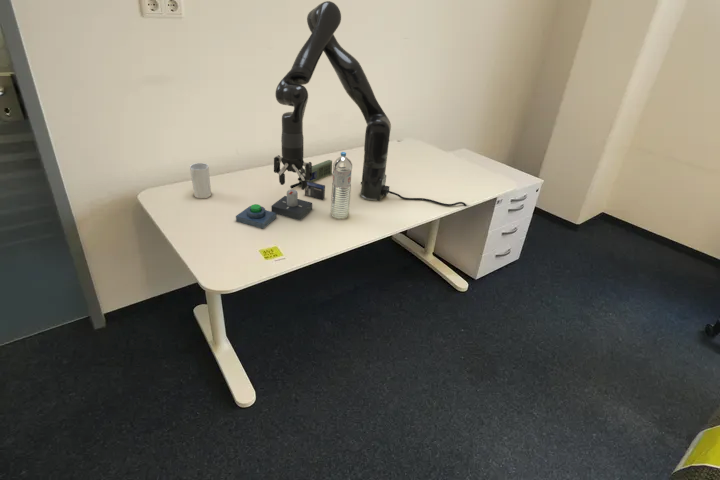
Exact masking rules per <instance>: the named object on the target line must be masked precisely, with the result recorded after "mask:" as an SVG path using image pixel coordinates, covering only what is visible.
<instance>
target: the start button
mask: <svg viewBox="0 0 720 480" xmlns="http://www.w3.org/2000/svg"><path fill="white" fill-rule="evenodd" d="M250 206H251V212H253V213H258V212H261V207H262V205H261V204H259V203H258V204H257V203H255V204H251V205H250Z"/></svg>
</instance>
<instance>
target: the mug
mask: <svg viewBox="0 0 720 480" xmlns="http://www.w3.org/2000/svg"><path fill="white" fill-rule="evenodd" d="M209 167H210V166H209V164H207V163H205V162H196V163H192V164H190V166H189V171H190V177H191V183H192V190H193V195H194V197H195V198H196V199H207V198H210V197H211V196H212V188H211V178H210V176H211V175H210V168H209Z"/></svg>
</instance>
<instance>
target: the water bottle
mask: <svg viewBox="0 0 720 480" xmlns="http://www.w3.org/2000/svg"><path fill="white" fill-rule="evenodd" d="M352 170H353V163H352V161H351V160H350V159H349V158H348V157H347V152H346V151H341V152H340V156H339V157H337V158H336V159H335V160H334V161H333V162H332V183H331V199H330V216H331V217H332V218H333V219H336V220H344V219H346V218H348V217H349V213H350V199H351V187H352Z"/></svg>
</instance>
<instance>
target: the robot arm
mask: <svg viewBox="0 0 720 480" xmlns="http://www.w3.org/2000/svg"><path fill="white" fill-rule="evenodd" d="M341 21H342V12H341V10H340V8H339V6H338V5H337V4H336V3H335V2H333V1H330V0H325V1H323V2H321V3H320V4H318V5H317V6H316V7H314V8H313V9H312V10H310V11H309V12H308V13H307V16H306V23H307V26H308V29H309V31H310V33H311V34H310V35H309V37H308V39H307V40H306V41H305V42H304V44H303V45H302V46H301V48H300V49H299V52H298V53H297V54H296V57H295V59H294V61H293V63H292V66H291V68H290V70H289V71H288V72H287V73H286V74H285V75H284V77H282V79H281V80H280V81H279V83H278V84H277V86H276V89H275V92H274V93H275V94H274V96H275V99H276V101H277V103H279V104H280V105H282V106H289V107H293V111H286V112H284V113H282V115H281V136H280V137H281V140H280V143H281V155H276V156H274V157H273V172H274V173H276V174H277V175H278V182H279V184H280V185H281V186H284V185H285V184H286V173H285V172H286V171H287V172H292V173H295V174H297V176H298V177H299V176H300V177H301V179H302V180H301V187H300V188H301V190H303V191H305V188H306V187H307V180H309V179H311V178H312V166H313V164H312V162H311V161H308V162H306V161H304V122H303V121H304V117H305V112H306V108H307V104H308V100H309V92H308V91H309V90H308V89H307V88H306V86H305V85H307V84H309V83H310V82H311V79H312V77H313V75H314V73H315V70H316V68H317V66H318V63H319V61H320V59H321V57H322V55H323V53H324V55H325V56H326V59H327V60H328V62H329V64H330V65H331V66H332V68H333V70H334V72H335V74H336V76H337V78H338V80H339V82H340V85H341V86H342V87H343V89H344V91H345V92H346V94H347V95H348V96H349V98H350V99H351V100H352V101H353V102H354V103H355V105H356V106H357V108H358V109H359V110H360V112H361V114H362V116H363V118H364V121H365V123H366V127H365V134H364V147H363V163H362V174H361V175H362V176H361V181H360V198H362V199H364V200H366V201H371V202H374V201H376V202H381V200H382V199H383V198H384V197H387V195H388V194H391V195H394V196H397V197H399V198H400V199H402V200H405V201H425V202H431V203H434V204H437V205H441V206H445V207H452V206H453V207H454V206H457V205H463V206H465V207H467V204H466V203H465V202H463V201H457V202H453V203H446V202H445V203H444V202H439V201H437V200H434V199H430V198H424V197H405V196H402V195H401V194H399V193H397V192H394V191H391V190H390V186H389V185H386V182H387V174H386V171H387V162H388V155H389V143H390V136H391V131H392V125H391V124H392V123H391V121H390V119H389V117H388V116H387V114H386V112H385V111H384V110H383V108H382V107H381V105H380V104H379V102H378V99H377V98H376V95H375V93H374V90H373V88H372V86H371V84H370V82H369V79H368V77H367V74H366V73H365V71H364V69H363V67H362V65H361V64H360V61H358V60H357V58H355V57H354V56H353V55H352V54H351V53H349V52H348V51H347V50H346V49H345V48H344V47H343V46H341V44H340V43H339V42H338V40H337V37H335V32H336V31H337V30H338V28H339V26H340V24H341ZM281 163H282V165H283V166H282V167H281ZM304 169H306V173H305V170H304ZM300 170H301V172H300Z"/></svg>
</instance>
